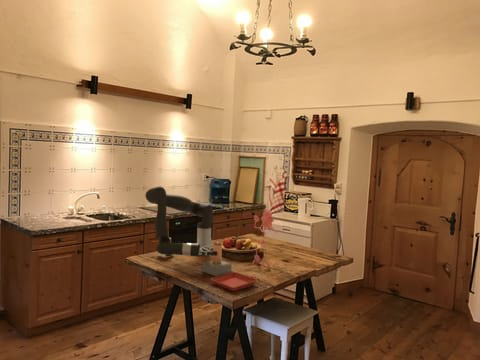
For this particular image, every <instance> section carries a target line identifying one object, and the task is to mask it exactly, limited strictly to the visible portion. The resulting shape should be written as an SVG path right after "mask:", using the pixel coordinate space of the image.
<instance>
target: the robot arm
mask: <svg viewBox="0 0 480 360" xmlns="http://www.w3.org/2000/svg"><path fill="white" fill-rule="evenodd" d="M145 199H146V200H147V202H149V203H150V204H155V205H157V212H156V216H155V221H154V228H155V236H156V238H158V244H157V245H156V247H155V248H156V249H155V250H156V252H157V253H160V254H174V255H177V256H184V257H185V256H186V257H198V258H199V257H210V256H213V255H214V256H217V252H216V251H213V242H212V241H213V238H212V225H213V222H214V221H213V219H214V208H213V206H212V205H211V204H207V203H202V202H196V201H195V202H194V201H193V200H191V199H189V198H188V197H186V196H182V195H179V194H167V192H166V189H165V188H164V187H162V186H156V187H152V188H149V189H148V190H146V192H145ZM167 208H170V209H174V210H176V211H180V212H183V213H190V214H193V215H194V216H197V217H198V218H199V217H200V218H202V220H201V222H200V221H199V222H198V223H197V229H196V231H197V232H196V234H197V235H196V243H194V242H192V243H191V242H186V243H185V242H172V241H171V242H170V239H169V238H170V236H169V230H168V223H167Z"/></svg>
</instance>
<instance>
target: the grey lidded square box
mask: <svg viewBox="0 0 480 360" xmlns="http://www.w3.org/2000/svg"><path fill="white" fill-rule="evenodd" d="M201 272H203V273H206V274H208V275H211V276H214V277H218V276H221V275H225V274H229V273H232V263H231V262H227V261H224V260H221V264H213V263H212V260H208V261H205V262H202V263H201Z"/></svg>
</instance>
